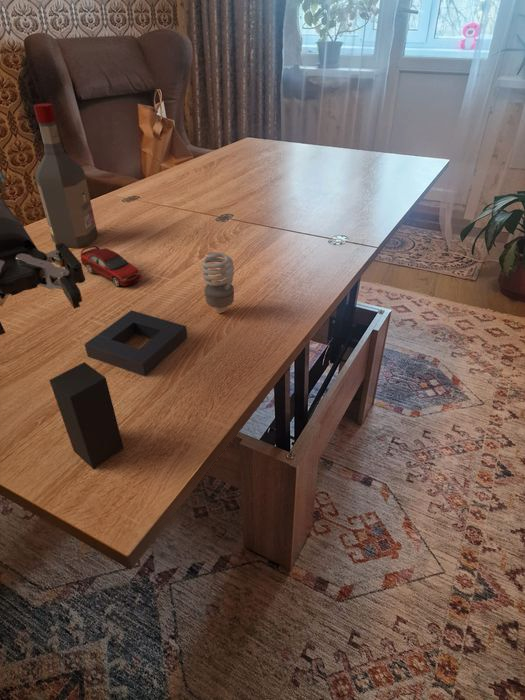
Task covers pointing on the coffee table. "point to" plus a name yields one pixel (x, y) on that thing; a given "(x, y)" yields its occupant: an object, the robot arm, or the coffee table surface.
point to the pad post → (88, 413)
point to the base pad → (130, 358)
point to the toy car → (110, 266)
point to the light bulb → (218, 291)
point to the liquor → (63, 188)
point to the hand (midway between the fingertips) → (39, 315)
